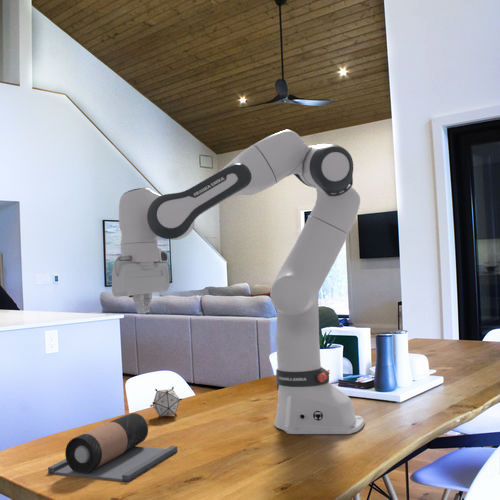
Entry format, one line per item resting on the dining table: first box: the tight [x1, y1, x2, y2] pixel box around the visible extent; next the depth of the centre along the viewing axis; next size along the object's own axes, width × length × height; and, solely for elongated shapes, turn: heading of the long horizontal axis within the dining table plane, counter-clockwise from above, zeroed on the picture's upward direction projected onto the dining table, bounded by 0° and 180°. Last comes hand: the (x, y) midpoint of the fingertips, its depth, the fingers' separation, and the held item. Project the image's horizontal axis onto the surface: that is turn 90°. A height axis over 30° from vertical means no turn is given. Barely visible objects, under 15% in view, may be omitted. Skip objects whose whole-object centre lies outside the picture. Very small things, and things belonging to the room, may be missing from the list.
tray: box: [47, 445, 178, 483], centre depth 126 cm, size 20×19×1 cm
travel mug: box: [64, 412, 149, 474], centre depth 127 cm, size 8×8×20 cm
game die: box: [149, 386, 183, 420], centre depth 163 cm, size 9×8×10 cm
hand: (143, 313), depth 139 cm, fingers closed
